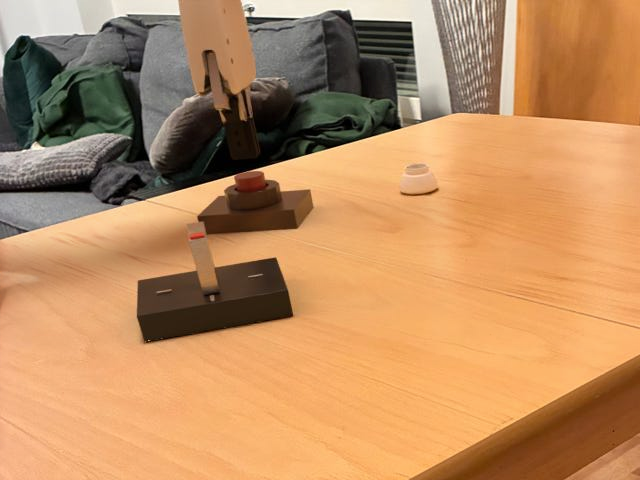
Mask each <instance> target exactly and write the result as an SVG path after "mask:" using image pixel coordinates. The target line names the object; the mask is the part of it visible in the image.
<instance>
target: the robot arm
mask: <svg viewBox="0 0 640 480" xmlns="http://www.w3.org/2000/svg"><path fill="white" fill-rule="evenodd" d="M177 3H178V11H179V17H180V23H181V24H180V25H181V30H182V35H183V36H182V37H183V41H184V46H185V51H186V56H187V61H188V67H189V70H190V75H191V80H192V85H193V88H194V92H195V94H197V96H198V97H200V98H205V97H207V96H209V95H210V94H211V95H212V102H213V106H214V109H215V110H216V111H218V112H219V115H220V119H221V122H222V124H223V128H224V133H225V137H226V141H227V145H228V150H229V154H230V159H232V160H233V161H237V160H250V159H256V158H257V157H258V156H259V155H260V154H261V148H260V144H259V138H258V134H257V128H256V125H255V120H254V117H253V108H252V102H251V101H252V100H251V96H250V93H251V86H250V85H251V84H252V83H254V81H255V79H256V77H257V68H256V60H255V56H254V50H253V45H252V40H251V36H250V31H249V28H248V27H249V26H248V23H247V19H246V15H245V11H244V7H243V3H242V0H178V2H177Z"/></svg>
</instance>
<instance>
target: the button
mask: <svg viewBox="0 0 640 480" xmlns="http://www.w3.org/2000/svg"><path fill="white" fill-rule="evenodd" d="M233 179H234V184H236V188H237V191H239V192H245V191H254V190H259V189H262V188H265V187H267V186H266V181H265V180H266V177H265V173H264V172H263V171H260V170H251V171H244V172H241V173H238V174H236V175H234V176H233Z"/></svg>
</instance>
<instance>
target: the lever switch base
mask: <svg viewBox="0 0 640 480" xmlns="http://www.w3.org/2000/svg"><path fill="white" fill-rule="evenodd" d="M215 269H216V273H217V278H218V283H219V289H220V292H219V293H213V294H207V295H203V292H202V289H201V285H200V281H199V277H198V273H197V270H191V271H187V272H179V273H173V274H167V275H161V276H155V277H150V278H144V279H138V280H137V294H136V297H137V298H136V319H137V323H138V326H139V328H140V332H141V335H142V338H143V342H144V341H148V340H155V341H157V340H156V339H161V338H166V339H170V338H169V337H172V338H176V337H175V336H178V337H182V336H181V335H183V336H188V335H187V334H189V335H193V334H192V333H194V334H198V333H197V332H200V333H204V332H205V331H206V332H210V331H209V330H211V331H215V330H214V329H217V330H219V329H218V328H222V329H225V328H224V327H228V328H232V327H231V326H234V327H238V326H237V325H239V326H243V325H242V324H245V325H249V324H248V323H251V324H253V323H252V322H256V323H259V322H258V321H262V322H266V321H265V320H267V321H272V319H273V320H278V319H284V318H289V317H293V316H294V312H293V307H292V303H291V296H290V293H289V289H288V286H287V284H286V280H285V278H284V275H283V272H282V269H281V266H280V264H279V260H278V257H276V256H275V257H268V258H263V259H257V260H251V261H246V262H245V261H244V262H239V263H234V264H233V263H232V264H227V265H221V266H215ZM161 340H162V339H161Z"/></svg>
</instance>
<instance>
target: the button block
mask: <svg viewBox="0 0 640 480" xmlns="http://www.w3.org/2000/svg"><path fill="white" fill-rule="evenodd" d="M265 181H266V186H267V187H265V188H262V189H259V190H254V191H245V192H239V191H237V188H236V184H235V183H234V184H231V185H229V186H227V187H226V188H225V189H224V190H223V195H218V196H217V197H216V198H214V200H212V202H210V203H209V204H208V205H207V206H206V207H205V208H204V209H203V210H202V211H201V212H199V214H197V216H196V219H197V222H204V225H205V229H206V233H207V236H208V235H221V234H234V233H235V234H236V233H250V232H251V233H252V232H266V231H268V232H269V231H282V230H296V229H299V228H300V226H301V225H302V224H303V222H304V221H305V220H306V218H307V217H308V216H309V214H310V213H311V212H312V211H313V209H314V208H315V207H314V202H313V201H314V200H313V196H312V191H311V189H295V190H283V191H282V190H281V186H280V183H279V182H278V181H277V180H274V179H265Z"/></svg>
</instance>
